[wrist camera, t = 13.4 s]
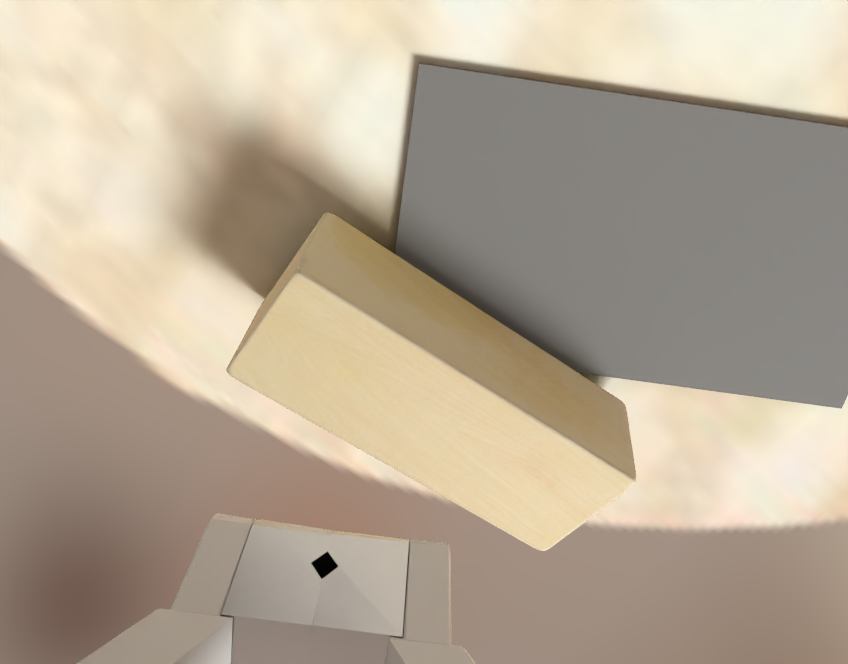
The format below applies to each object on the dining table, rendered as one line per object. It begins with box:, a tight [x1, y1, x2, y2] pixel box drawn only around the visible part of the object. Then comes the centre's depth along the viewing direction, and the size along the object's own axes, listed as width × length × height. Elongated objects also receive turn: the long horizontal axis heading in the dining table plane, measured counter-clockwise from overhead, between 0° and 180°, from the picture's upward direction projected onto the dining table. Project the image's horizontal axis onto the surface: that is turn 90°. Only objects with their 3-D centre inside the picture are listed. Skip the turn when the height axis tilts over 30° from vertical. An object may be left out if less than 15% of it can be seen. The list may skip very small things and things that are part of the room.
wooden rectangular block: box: [227, 212, 636, 551], centre depth 42 cm, size 8×7×21 cm
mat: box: [395, 63, 848, 408], centre depth 42 cm, size 28×16×1 cm, turn 82°
